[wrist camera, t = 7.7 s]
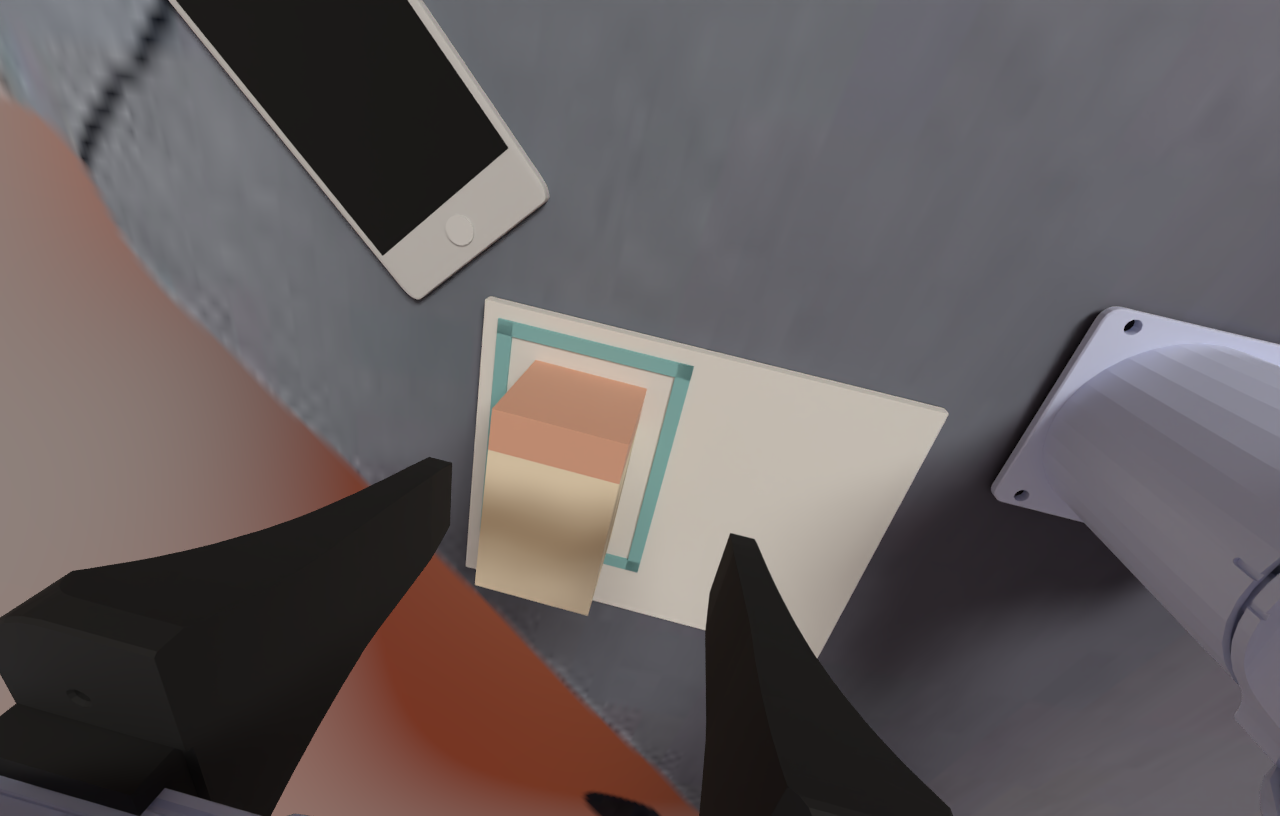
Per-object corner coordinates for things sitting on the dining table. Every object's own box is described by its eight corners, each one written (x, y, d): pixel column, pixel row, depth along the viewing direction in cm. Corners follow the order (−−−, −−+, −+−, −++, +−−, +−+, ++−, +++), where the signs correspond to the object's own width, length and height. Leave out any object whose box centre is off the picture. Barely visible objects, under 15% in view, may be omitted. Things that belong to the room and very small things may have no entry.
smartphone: (424, 298, 22) (412, 304, 21) (107, -97, 18) (75, -110, 17) (557, 194, 20) (550, 196, 19) (226, -298, 15) (196, -325, 14)
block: (609, 540, 25) (587, 615, 21) (514, 514, 25) (474, 584, 21) (647, 388, 21) (628, 444, 17) (535, 359, 21) (491, 408, 17)
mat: (943, 408, 20) (949, 415, 20) (815, 651, 27) (816, 661, 26) (490, 296, 21) (484, 300, 21) (469, 559, 27) (464, 567, 27)
